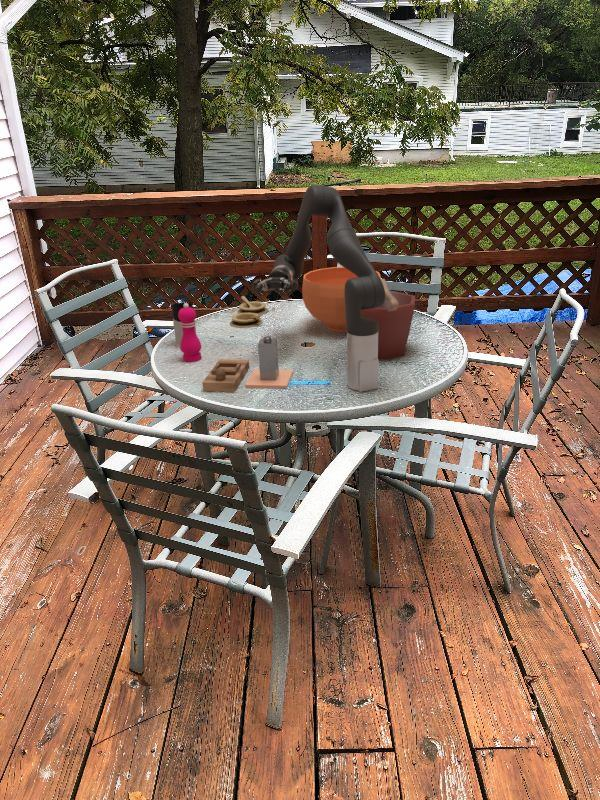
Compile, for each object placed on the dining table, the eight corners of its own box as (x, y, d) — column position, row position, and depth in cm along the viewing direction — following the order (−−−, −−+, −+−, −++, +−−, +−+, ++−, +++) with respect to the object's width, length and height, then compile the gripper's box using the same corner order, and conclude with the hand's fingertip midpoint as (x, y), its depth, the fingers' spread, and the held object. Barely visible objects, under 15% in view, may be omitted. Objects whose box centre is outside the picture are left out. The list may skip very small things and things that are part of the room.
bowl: (360, 312, 263) (360, 263, 254) (395, 332, 237) (396, 278, 228) (292, 322, 253) (290, 272, 245) (321, 344, 227) (320, 289, 219)
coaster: (254, 372, 206) (254, 369, 205) (293, 372, 204) (293, 369, 203) (245, 387, 194) (245, 384, 194) (286, 388, 192) (286, 385, 192)
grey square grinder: (263, 374, 201) (260, 334, 196) (279, 374, 200) (276, 334, 195) (260, 380, 197) (257, 339, 191) (276, 380, 196) (273, 340, 190)
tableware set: (233, 309, 278) (232, 295, 275) (277, 308, 276) (276, 295, 274) (219, 330, 251) (218, 315, 249) (268, 329, 249) (267, 315, 247)
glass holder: (194, 338, 240) (189, 300, 234) (207, 349, 228) (202, 309, 222) (171, 343, 236) (166, 304, 230) (184, 354, 225) (179, 313, 218)
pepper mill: (191, 354, 224) (184, 299, 216) (206, 357, 221) (200, 301, 212) (177, 360, 218) (170, 304, 210) (193, 363, 215) (186, 307, 207)
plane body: (220, 367, 211) (218, 350, 208) (249, 368, 209) (248, 351, 207) (203, 391, 193) (201, 373, 190) (235, 392, 191) (233, 373, 189)
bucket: (411, 365, 205) (413, 290, 195) (343, 363, 210) (342, 289, 200) (414, 341, 227) (416, 272, 217) (353, 339, 232) (352, 271, 221)
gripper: (259, 267, 212) (248, 278, 198) (301, 266, 210) (293, 278, 196) (260, 289, 215) (250, 302, 201) (301, 289, 213) (294, 302, 199)
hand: (271, 290), depth 198 cm, fingers open, 8 cm apart
